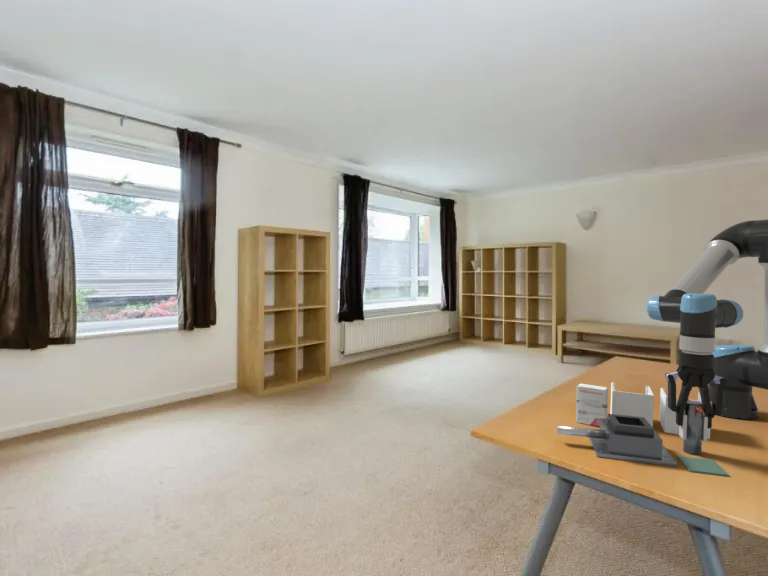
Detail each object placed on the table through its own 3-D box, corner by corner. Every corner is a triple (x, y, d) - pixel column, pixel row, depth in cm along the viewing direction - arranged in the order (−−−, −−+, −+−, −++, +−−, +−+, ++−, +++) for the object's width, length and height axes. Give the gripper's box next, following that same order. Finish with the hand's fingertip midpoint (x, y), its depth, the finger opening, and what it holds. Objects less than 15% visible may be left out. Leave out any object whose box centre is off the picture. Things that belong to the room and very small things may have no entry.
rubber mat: (713, 461, 107) (713, 460, 107) (729, 476, 100) (729, 474, 100) (677, 457, 110) (677, 455, 109) (689, 471, 102) (689, 469, 102)
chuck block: (658, 444, 118) (659, 415, 117) (676, 466, 104) (678, 435, 104) (554, 432, 126) (555, 406, 125) (559, 452, 112) (560, 422, 112)
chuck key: (694, 445, 117) (695, 399, 116) (708, 459, 108) (710, 410, 107) (677, 443, 118) (679, 398, 117) (690, 457, 109) (692, 408, 109)
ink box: (608, 423, 133) (609, 386, 133) (605, 428, 129) (607, 390, 129) (578, 418, 138) (579, 382, 137) (575, 422, 134) (576, 385, 133)
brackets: (611, 425, 133) (612, 390, 132) (610, 414, 142) (611, 382, 142) (709, 439, 121) (711, 402, 121) (701, 427, 131) (702, 392, 131)
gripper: (727, 351, 113) (723, 436, 114) (654, 347, 118) (652, 429, 119) (742, 356, 105) (738, 448, 107) (664, 352, 110) (660, 440, 112)
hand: (692, 438), depth 113 cm, fingers closed on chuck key, 4 cm apart
